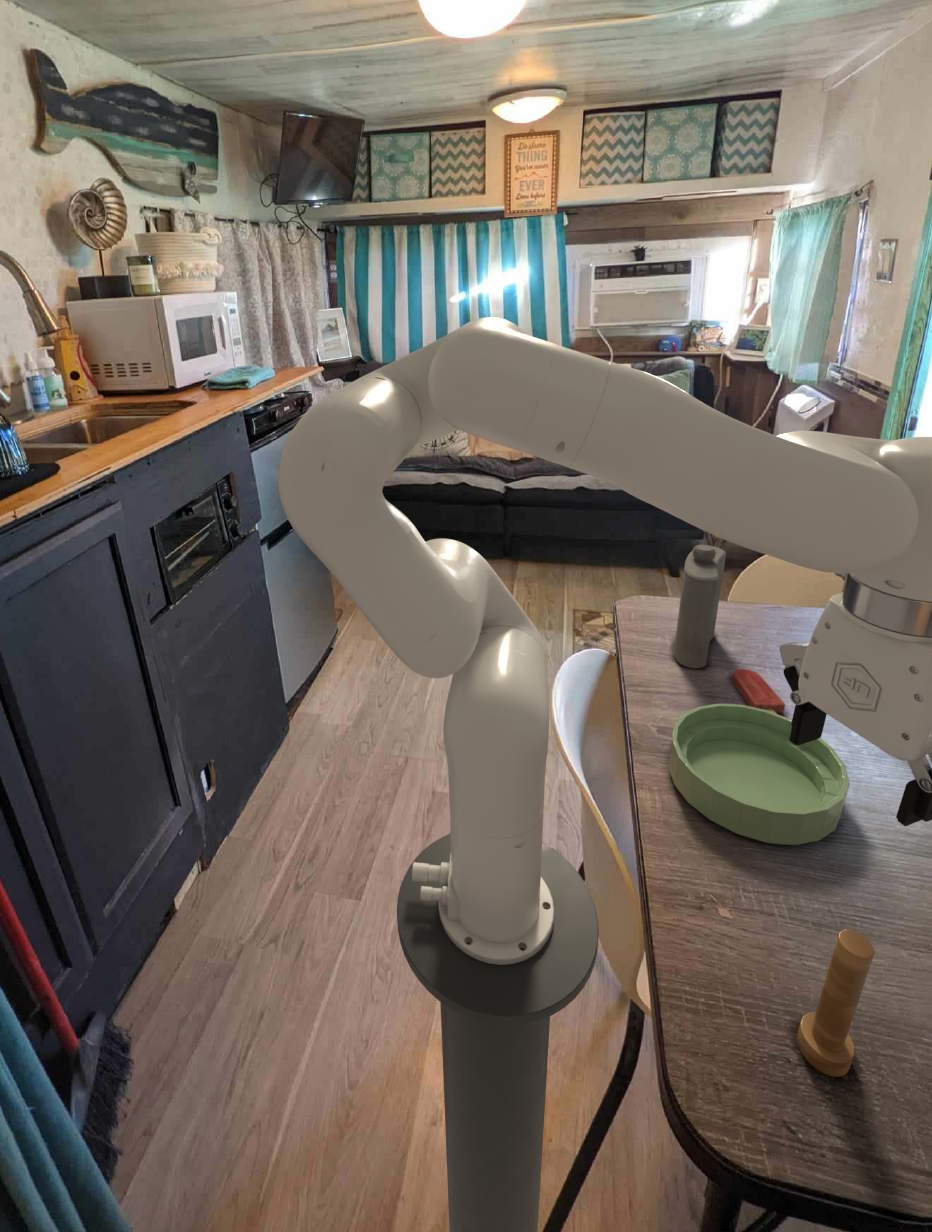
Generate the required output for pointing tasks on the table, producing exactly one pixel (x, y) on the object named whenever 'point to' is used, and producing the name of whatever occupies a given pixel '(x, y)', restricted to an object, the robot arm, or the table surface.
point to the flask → (698, 605)
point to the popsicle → (757, 691)
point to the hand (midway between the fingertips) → (854, 776)
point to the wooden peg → (837, 1007)
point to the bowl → (757, 774)
